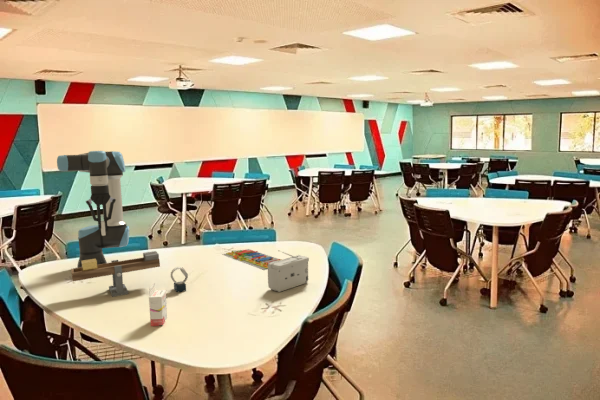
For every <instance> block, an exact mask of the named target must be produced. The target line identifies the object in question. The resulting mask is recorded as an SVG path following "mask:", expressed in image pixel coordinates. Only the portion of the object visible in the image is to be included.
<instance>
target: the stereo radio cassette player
mask: <svg viewBox="0 0 600 400" xmlns="http://www.w3.org/2000/svg"><path fill="white" fill-rule="evenodd" d="M277 251H278V252H281V253H282V254H285V255H287V256H290V257H287V258H283V259H282V260H279V261H275V262H271V263H269V264H268V269H267V283H268V288H269V289H271V290H272V291H275V292H278V293H281V292H283V291H286V290H290V289H292V288H295V287H297V286H301V285H304V284H307V283H309V262H310V261H309V259H310V258H309V256H305V255H301V254H298V255H292V254H290V253H286V252H285V251H281V250H277Z"/></svg>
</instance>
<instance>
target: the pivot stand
mask: <svg viewBox="0 0 600 400" xmlns="http://www.w3.org/2000/svg"><path fill="white" fill-rule="evenodd" d="M118 261H119V260H118V259H114V260H111V262H118ZM111 262H110V263H111ZM114 269H115V274H113V275H111V276H112V285H110V286H108V291H109V293H110V295H111V297H112V298H113V297H118V296H125V295H128V294H129V290H128V288H127V286H126V285H125V283H124V282H123V273H122V266H121V265H119V266H114Z"/></svg>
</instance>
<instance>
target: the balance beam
mask: <svg viewBox="0 0 600 400" xmlns="http://www.w3.org/2000/svg"><path fill="white" fill-rule="evenodd" d="M142 256H143V257H138V258H131V259H125V260H118V262H107V263H105V264H99V265H97V268H98V269H95V270H89V271H83V270H82V267H80V268H78V267H75V268H74V267H73V268H70V271H71V278H72V279H71V280H72V282H76V281H77V282H78V281H82V280H88V279H90V280H91V279H95V278H101V277H102V278H103V277H106V276H112V275H113V274H115V269H114V266H119V265H121V266H122V274H123V273H130V272H136V271H144V270H148V269H153V268H154V269H155V268H159V267H161V262H160V254H159V253H158V252H157V250H153V251H146V252H143V253H142Z"/></svg>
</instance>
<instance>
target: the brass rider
mask: <svg viewBox="0 0 600 400" xmlns="http://www.w3.org/2000/svg"><path fill="white" fill-rule="evenodd" d="M95 269H98V268H97V261H96V259H89V260H83V261H82V270H83V271H89V270H95Z"/></svg>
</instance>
